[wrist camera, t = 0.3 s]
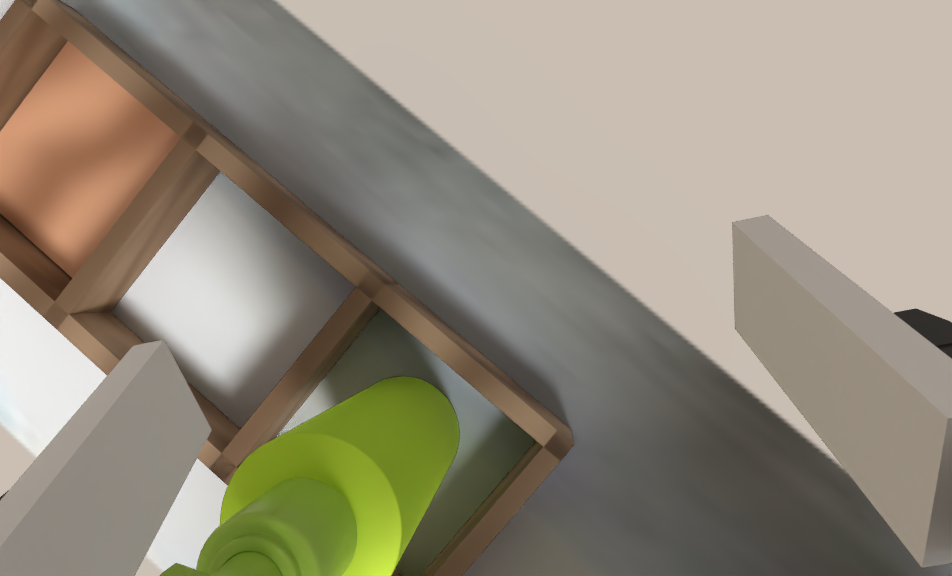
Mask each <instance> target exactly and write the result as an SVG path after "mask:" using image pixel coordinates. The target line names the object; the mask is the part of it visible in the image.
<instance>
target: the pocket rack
mask: <svg viewBox="0 0 952 576" xmlns="http://www.w3.org/2000/svg"><path fill="white" fill-rule="evenodd" d="M220 171H221V172H222V173H223V174H225V175H226V176H227V177H228V178H229V179H230V180H232V181H233V182H234V183H235V184H236V185H237V186H239V187H240V188H241V189H242V190H243V191H244V192H246V193H247V194H248V195H249V196H250V197H251V198H253V199H254V200H255V201H256V202H257V203H258V204H260V205H261V206H262V207H263V208H264V209H266V210H267V211H268V212H269V213H270V214H271V215H273V216H274V217H275V218H276V219H277V220H278V221H280V222H281V223H282V224H283V225H284V226H285V227H287V228H288V229H289V230H290V231H291V232H292V233H294V234H295V235H296V236H297V237H298V238H299V239H301V240H302V241H303V242H304V243H305V244H307V245H308V246H309V247H310V248H311V249H312V250H314V251H315V252H316V253H317V254H318V255H319V256H321V257H322V258H323V259H324V260H325V261H326V262H328V263H329V264H330V265H331V266H332V267H333V268H335V269H336V270H337V271H338V272H339V273H340V274H342V275H343V276H344V277H345V278H346V279H347V280H349V281H350V282H351V283H352V284H353V285H355V286H356V287H355V289H354V290H353V291H352V292H351V294H350V295H349V296H348V297H347V299H346V300H345V301H344V302H343V304H342V305H341V306H340V307H339V308H338V310H337V311H336V312H335V313H334V315H333V316H332V317H331V318H330V320H329V321H328V322H327V323H326V325H325V326H324V327H323V328H322V329H321V331H320V332H319V333H318V334H317V336H316V337H315V338H314V339H313V341H312V342H311V343H310V344H309V346H308V347H307V348H306V349H305V350H304V352H303V353H302V354H301V355H300V357H299V358H298V359H297V360H296V362H295V363H294V364H293V365H292V367H291V368H290V369H289V370H288V371H287V373H286V374H285V375H284V376H283V378H282V379H281V380H280V381H279V383H278V384H277V385H276V386H275V388H274V389H273V390H272V391H271V393H270V394H269V395H268V396H267V397H266V399H265V400H264V401H263V402H262V404H261V405H260V406H259V407H258V409H257V410H256V411H255V412H254V414H253V415H252V416H251V417H250V418H249V420H248V421H247V422H246V423H245V425H244V426H243V427H242V428H241V430H240V429H239V428H238V427H237V426H236V425H235V424H234V423H233V422H232V421H230V420H229V419H228V418H227V417H226V416H225V415H224V414H223V413H222V412H220V411H219V410H218V409H217V408H216V407H215V406H214V405H213V404H212V403H210V402H209V401H208V400H207V399H206V398H205V397H204V396H203V395H202V394H201V393H199V392H198V391H197V390H196V389H195V388H194V387H193V386H192V385H191V384H189V383H188V382H187V381H186V382H187V384H188V386H189V388H190V390H191V392H192V393H193V395H194V397H195V399H196V401H197V403H198V405H199V407H200V409H201V411H202V412H203V414H204V416H205V418H206V420H207V422H208V424H209V426H210V428H211V430H212V431H211V433H210V434H209V436H208V438H207V440H206V442H205V444H204V446H203V448H202V450H201V451H200V453H199V455H198V457H197V458H198V459H199V460H200V461H201V462H202V463H204V464H205V465H206V466H207V467H208V468H209V469H210V470H211V471H212V472H213V473H214V474H216V475H217V476H218V477H219V478H220V479H221V480H222V481H223V482H224V483H225V484H227V485H229V482H230V480H231V479H232V477H233V475H234V473H235V472H236V470H237V469H238V468H239V466H240V465H241V464H242V463H243V461H244V460H245V459H246V458H247V457H248V456H249V455H250V454H252V453H253V452H254V451H255V450H257V449H258V448H259V447H261V446H262V445H264V444H266V443H268V442H269V441H271V440H273V439H274V438H275V437H276V436H277V435H278V433H279V432H280V431H281V430H282V429H283V427H284V426H285V425H286V424H287V422H288V421H289V420H290V419H291V418H292V416H293V415H294V414H295V413H296V411H297V410H298V409H299V408H300V406H301V405H302V404H303V403H304V402H305V400H306V399H307V398H308V397H309V395H310V394H311V393H312V392H313V391H314V389H315V388H316V387H317V386H318V384H319V383H320V382H321V381H322V379H323V378H324V377H325V376H326V375H327V373H328V372H329V371H330V370H331V368H332V367H333V366H334V365H335V364H336V362H337V361H338V360H339V359H340V357H341V356H342V355H343V354H344V352H345V351H346V350H347V349H348V348H349V346H350V345H351V344H352V343H353V341H354V340H355V339H356V338H357V337H358V335H359V334H360V333H361V332H362V330H363V329H364V328H365V327H366V325H367V324H368V323H369V322H370V321H371V319H372V318H373V317H374V316H375V314H376V313H377V312H378V311H379V310H380V308H381V309H383V310H384V311H385V312H386V313H387V314H388V315H390V316H391V317H392V318H393V319H394V320H396V321H397V322H398V323H399V324H400V325H401V326H403V327H404V328H405V329H406V330H407V331H408V332H410V333H411V334H412V335H413V336H414V337H415V338H417V339H418V340H419V341H420V342H421V343H422V344H424V345H425V346H426V347H427V348H428V349H429V350H431V351H432V352H433V353H434V354H435V355H436V356H438V357H439V358H440V359H441V360H442V361H444V362H445V363H446V364H447V365H448V366H449V367H451V368H452V369H453V370H454V371H455V372H456V373H458V374H459V375H460V376H461V377H462V378H463V379H465V380H466V381H467V382H468V383H469V384H470V385H472V386H473V387H474V388H475V389H476V390H477V391H479V392H480V393H481V394H482V395H483V396H485V397H486V398H487V399H488V400H489V401H490V402H492V403H493V404H494V405H495V406H496V407H497V408H499V409H500V410H501V411H502V412H503V413H504V414H506V415H507V416H508V417H509V418H510V419H511V420H513V421H514V422H515V423H516V424H517V425H518V426H520V427H521V428H522V429H523V430H524V431H525V432H527V433H528V434H529V435H530V436H531V437H533V438H534V439H535V440H536V441H535V443H534V444H533V445H532V446H531V447H530V448H529V450H528V451H527V452H526V453H525V454H524V455H523V457H522V458H521V459H520V460H519V461H518V463H517V464H516V465H515V466H514V467H513V468H512V470H511V471H510V472H509V473H508V474H507V475H506V477H505V478H504V479H503V480H502V481H501V482H500V484H499V485H498V486H497V487H496V488H495V490H494V491H493V492H492V493H491V494H490V495H489V497H488V498H487V499H486V500H485V501H484V502H483V504H482V505H481V506H480V507H479V508H478V510H477V511H476V512H475V513H474V514H473V515H472V517H471V518H470V519H469V520H468V521H467V522H466V524H465V525H464V526H463V527H462V528H461V529H460V531H459V532H458V533H457V534H456V535H455V537H454V538H453V539H452V540H451V541H450V542H449V544H448V545H447V546H446V547H445V548H444V549H443V551H442V552H441V553H440V554H439V555H438V556H437V558H436V559H435V560H434V561H433V562H432V564H431V565H430V566H429V567H428V568H427V569H426V571H425V572H424V573H423V574H422V575H421V576H462V575H463V574H464V573H465V572H466V571H467V569H468V568H469V567H470V566H471V565H472V564H473V562H474V561H475V560H476V559H477V558H478V557H479V555H480V554H481V553H482V552H483V551H484V550H485V548H486V547H487V546H488V545H489V544H490V543H491V541H492V540H493V539H494V538H495V537H496V536H497V534H498V533H499V532H500V531H501V530H502V529H503V527H504V526H505V525H506V524H507V523H508V522H509V520H510V519H511V518H512V517H513V516H514V515H515V513H516V512H517V511H518V510H519V509H520V508H521V506H522V505H523V504H524V503H525V502H526V501H527V499H528V498H529V497H530V496H531V495H532V494H533V492H534V491H535V490H536V489H537V488H538V487H539V485H540V484H541V483H542V482H543V481H544V480H545V478H546V477H547V476H548V475H549V474H550V473H551V471H552V470H553V469H554V468H555V467H556V466H557V464H558V463H559V462H560V461H561V460H562V459H563V457H564V456H565V455H566V454H567V453H568V452H569V450H570V449H571V448H572V447H573V446H574V440H573V435H572V430H571V429H569V428H568V427H567V426H566V425H565V424H564V423H562V422H561V421H560V420H559V419H558V418H556V417H555V416H554V415H553V414H552V413H551V412H549V411H548V410H547V409H546V408H545V407H543V406H542V405H541V404H540V403H539V402H538V401H536V400H535V399H534V398H533V397H532V396H531V395H529V394H528V393H527V392H526V391H525V390H523V389H522V388H521V387H520V386H519V385H518V384H516V383H515V382H514V381H513V380H512V379H510V378H509V377H508V376H507V375H506V374H505V373H503V372H502V371H501V370H500V369H499V368H497V367H496V366H495V365H494V364H493V363H492V362H490V361H489V360H488V359H487V358H486V357H484V356H483V355H482V354H481V353H480V352H479V351H477V350H476V349H475V348H474V347H473V346H471V345H470V344H469V343H468V342H467V341H466V340H464V339H463V338H462V337H461V336H460V335H458V334H457V333H456V332H455V331H454V330H453V329H451V328H450V327H449V326H448V325H447V324H445V323H444V322H443V321H442V320H441V319H440V318H438V317H437V316H436V315H435V314H434V313H432V312H431V311H430V310H429V309H428V308H427V307H425V306H424V305H423V304H422V303H421V302H419V301H418V300H417V299H416V298H415V297H414V296H412V295H411V294H410V293H409V292H408V291H406V290H405V289H404V288H403V287H402V286H401V285H399V284H398V283H397V282H396V281H395V280H393V279H392V278H391V277H390V276H389V275H388V274H386V273H385V272H384V271H383V270H382V269H380V268H379V267H378V266H377V265H376V264H375V263H373V262H372V261H371V260H370V259H369V258H367V257H366V256H365V255H364V254H363V253H362V252H360V251H359V250H358V249H357V248H356V247H354V246H353V245H352V244H351V243H350V242H349V241H347V240H346V239H345V238H344V237H343V236H342V235H340V234H339V233H338V232H337V231H336V230H334V229H333V228H332V227H331V226H330V225H329V224H327V223H326V222H325V221H324V220H323V219H321V218H320V217H319V216H318V215H317V214H316V213H314V212H313V211H312V210H311V209H310V208H308V207H307V206H306V205H305V204H304V203H303V202H301V201H300V200H299V199H298V198H297V197H295V196H294V195H293V194H292V193H291V192H290V191H288V190H287V189H286V188H285V187H284V186H282V185H281V184H280V183H279V182H278V181H277V180H275V179H274V178H273V177H272V176H271V175H269V174H268V173H267V172H266V171H265V170H264V169H262V168H261V167H260V166H259V165H258V164H256V163H255V162H254V161H253V160H252V159H251V158H249V157H248V156H247V155H246V154H245V153H243V152H242V151H241V150H240V149H239V148H238V147H236V146H235V145H234V144H233V143H232V142H230V141H229V140H228V139H227V138H226V137H225V136H223V135H222V134H221V133H220V132H219V131H217V130H216V129H215V128H214V127H213V126H212V125H210V124H209V123H208V122H207V121H206V120H204V119H203V118H202V117H201V116H200V115H199V114H197V113H196V112H195V111H194V110H193V109H191V108H190V107H189V106H188V105H187V104H186V103H184V102H183V101H182V100H181V99H180V98H178V97H177V96H176V95H175V94H174V93H173V92H171V91H170V90H169V89H168V88H167V87H165V86H164V85H163V84H162V83H161V82H160V81H158V80H157V79H156V78H155V77H154V76H153V75H151V74H150V73H149V72H148V71H147V70H145V69H144V68H143V67H142V66H141V65H140V64H138V63H137V62H136V61H135V60H134V59H132V58H131V57H130V56H129V55H128V54H127V53H125V52H124V51H123V50H122V49H121V48H119V47H118V46H117V45H116V44H115V43H114V42H112V41H111V40H110V39H109V38H108V37H106V36H105V35H104V34H103V33H102V32H101V31H99V30H98V29H97V28H96V27H95V26H93V25H92V24H91V23H90V22H89V21H88V20H86V19H85V18H84V17H83V16H82V15H80V14H79V13H78V12H77V11H76V10H75V9H73V8H72V7H70V6H68V5H67V4H65V3H63V2H62V1H60V0H15V1H14V3H13V4H12V6H11V7H10V8H9V10H8V11H7V12H6V14H5V15H4V16H3V18H2V19H1V21H0V278H1V279H2V280H3V281H4V282H5V283H7V284H8V285H9V286H10V287H11V288H12V289H13V290H14V291H15V292H16V293H17V294H19V295H20V296H21V297H22V298H23V299H24V300H25V301H26V302H27V303H28V304H30V305H31V306H32V307H33V308H34V309H35V310H36V311H37V312H38V313H39V314H40V315H42V316H43V317H44V318H45V319H46V320H47V321H48V322H49V323H50V324H51V325H52V326H54V327H55V328H56V329H57V330H58V331H59V332H60V333H61V334H62V335H63V336H65V337H66V338H67V339H68V340H69V341H70V342H71V343H72V344H73V345H74V346H75V347H77V348H78V349H79V350H80V351H81V352H82V353H83V354H84V355H85V356H86V357H88V358H89V359H90V360H91V361H92V362H93V363H94V364H95V365H96V366H97V367H98V368H100V369H101V370H102V371H103V372H104V373H105V374H106V375H107V376H108V375H109V373H110V372H111V371H112V370H113V369H114V368H115V366H116V365H117V364H118V363H119V362H120V361H121V359H122V358H123V357H124V356H125V355H126V354H127V352H128V351H129V350H130V349H131V348H132V347H133V346H135V345H140V344H144V342H143V341H142V340H141V339H139V338H138V337H137V336H136V335H135V334H134V333H133V332H132V331H131V330H129V329H128V328H127V327H126V326H125V325H124V324H123V323H122V322H121V321H119V320H118V319H117V318H116V317H115V316H114V315H113V314H112V313H111V311H112V310H113V308H114V307H115V306H116V305H117V303H118V302H119V301H120V299H121V298H122V297H123V296H124V294H125V293H126V292H127V290H128V289H129V288H130V287H131V285H132V284H133V283H134V281H135V280H136V279H137V278H138V276H139V275H140V274H141V272H142V271H143V270H144V269H145V267H146V266H147V265H148V263H149V262H150V261H151V260H152V258H153V257H154V256H155V254H156V253H157V252H158V251H159V249H160V248H161V247H162V245H163V244H164V243H165V242H166V240H167V239H168V238H169V236H170V235H171V234H172V233H173V231H174V230H175V229H176V227H177V226H178V225H179V224H180V222H181V221H182V220H183V218H184V217H185V216H186V215H187V213H188V212H189V211H190V210H191V208H192V207H193V206H194V204H195V203H196V202H197V201H198V199H199V198H200V197H201V195H202V194H203V193H204V192H205V190H206V189H207V188H208V186H209V185H210V184H211V183H212V181H213V180H214V179H215V177H216V176H217V175H218V174H219V172H220ZM391 576H403V575H401V574H400V573H399V572H398V571H397V570H396V569H395V570H394V572H393V574H392V575H391Z"/></svg>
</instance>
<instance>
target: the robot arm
mask: <svg viewBox="0 0 952 576" xmlns="http://www.w3.org/2000/svg"><path fill="white" fill-rule="evenodd" d="M732 230H733V269H734V306H735V307H734V308H735V309H734V310H735V329H736V330H737V332H738V333H739V334H740V336H741V337H742V338H743V339H744V341H745V342H746V343H747V344H748V346H749V347H750V348H751V350H752V351H753V352H754V354H755V355H756V356H757V357H758V359H759V360H760V361H761V362H762V364H763V365H764V366H765V368H766V369H767V370H768V371H769V373H770V374H771V375H772V376H773V378H774V379H775V380H776V382H777V383H778V384H779V386H780V387H781V388H782V389H783V391H784V392H785V393H786V394H787V396H788V397H789V398H790V400H791V401H792V402H793V403H794V405H795V406H796V407H797V409H798V410H799V411H800V412H801V414H802V415H803V416H804V418H805V419H806V420H807V421H808V423H809V424H810V425H811V426H812V428H813V429H814V430H815V432H816V433H817V434H818V435H819V437H820V438H821V439H822V441H823V442H824V443H825V444H826V446H827V447H828V448H829V449H830V451H831V452H832V453H833V455H834V456H835V457H836V458H837V460H838V461H839V462H840V464H841V465H842V466H843V467H844V469H845V470H846V471H847V473H848V474H849V475H850V476H851V478H852V479H853V480H854V481H855V483H856V484H857V485H858V487H859V488H860V489H861V490H862V492H863V493H864V494H865V496H866V497H867V498H868V499H869V501H870V502H871V503H872V505H873V506H874V507H875V508H876V510H877V511H878V512H879V513H880V515H881V516H882V517H883V519H884V520H885V521H886V522H887V524H888V525H889V526H890V528H891V529H892V530H893V531H894V533H895V534H896V535H897V537H898V538H899V539H900V540H901V542H902V543H903V544H904V545H905V547H906V548H907V549H908V551H909V552H910V553H911V554H912V556H913V557H914V558H915V560H916V561H917V562H918V563H919V565H920V566H921V567H922V568H925V567H931V566H937V565H943V564H949V563H952V323H951V322H950V321H948V320H945V319H942V318H940V317H937V316H934V315H932V314H929V313H926V312H924V311H921V310H919V309H911V310H906V311H901V312H895V313H892V312H891V311H890V310H889V309H887V308H886V307H885V306H883V305H882V304H881V303H880V302H878V301H877V300H876V299H875V298H873V297H872V296H871V295H869V294H868V293H867V292H866V291H864V290H863V289H861V288H860V287H859V286H858V285H857V284H855V283H854V282H853V281H851V280H850V279H849V278H848V277H846V276H845V275H844V274H842V273H841V272H840V271H839V270H837V269H836V268H835V267H834V266H832V265H831V264H830V263H829V262H827V261H826V260H825V259H823V258H822V257H821V256H820V255H818V254H817V253H816V252H814V251H813V250H812V249H811V248H809V247H808V246H807V245H805V244H804V243H803V242H802V241H800V240H799V239H798V238H797V237H795V236H794V235H793V234H791V233H790V232H789V231H788V230H786V229H785V228H784V227H782V226H781V225H780V224H779V223H777V222H776V221H775V220H774V219H772V218H771V217H770V216H768V215H766V216H761V217H756V218H751V219H746V220H741V221H736V222H733V223H732ZM211 431H212V430H211V428H210V426H209V424H208V422H207V420H206V418H205V416H204V414H203V412H202V411H201V409H200V407H199V405H198V403H197V401H196V399H195V397H194V395H193V393H192V392H191V390H190V388H189V386H188V384H187V382H186V380H185V378H184V376H183V374H182V373H181V371H180V369H179V367H178V365H177V363H176V361H175V359H174V357H173V355H172V354H171V352H170V350H169V348H168V346H167V344H166V342H165V340H159V341H154V342H149V343H144V344H140V345H135V346H133V347H132V348H131V349H130V350H129V351H128V352H127V354H126V355H125V356H124V357H123V358H122V359H121V361H120V362H119V363H118V364H117V365H116V366H115V368H114V369H113V370H112V371H111V372H110V373H109V375H108V376H107V377H106V378H105V379H104V380H103V382H102V383H101V384H100V385H99V386H98V387H97V389H96V390H95V391H94V392H93V393H92V394H91V396H90V397H89V398H88V399H87V400H86V401H85V402H84V404H83V405H82V406H81V407H80V408H79V409H78V411H77V412H76V413H75V414H74V415H73V416H72V418H71V419H70V420H69V421H68V422H67V423H66V425H65V426H64V427H63V428H62V429H61V430H60V432H59V433H58V434H57V435H56V436H55V437H54V439H53V440H52V441H51V442H50V443H49V444H48V446H47V447H46V448H45V449H44V450H43V451H42V453H41V454H40V455H39V456H38V457H37V458H36V460H35V461H34V462H33V463H32V464H31V466H30V467H29V468H28V469H27V470H26V471H25V472H24V474H23V475H22V476H21V477H20V478H19V479H18V481H17V482H16V483H15V484H14V485H13V486H12V488H11V489H10V490H8V491H7V492H6V493H5V494H4V495H2V496H1V497H0V576H135V574H136V572H137V570H138V568H139V566H140V564H141V563H142V561H143V559H144V557H145V555H146V553H147V551H148V549H149V548H150V546H151V544H152V542H153V540H154V538H155V536H156V534H157V533H158V531H159V529H160V527H161V525H162V523H163V521H164V519H165V517H166V516H167V514H168V512H169V510H170V508H171V506H172V504H173V502H174V500H175V499H176V497H177V495H178V493H179V491H180V489H181V487H182V485H183V483H184V482H185V480H186V478H187V476H188V474H189V472H190V470H191V468H192V466H193V465H194V463H195V461H196V459H197V457H198V455H199V453H200V451H201V450H202V448H203V446H204V444H205V442H206V440H207V438H208V436H209V434H210V433H211Z"/></svg>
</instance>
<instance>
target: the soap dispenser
mask: <svg viewBox="0 0 952 576" xmlns="http://www.w3.org/2000/svg"><path fill="white" fill-rule="evenodd" d="M458 445H459V424H458V420H457V416H456V413H455V411H454V409H453V407H452V405H451V403H450V402H449V400H448V399H447V398H446V397H445V395H444V394H443V393H442V392H441V391H440V390H438V389H437V388H436V387H434V386H433V385H431V384H430V383H428V382H426V381H423V380H421V379H417V378H413V377H405V376H400V377H392V378H388V379H385V380H382V381H380V382H378V383H376V384H374V385H372V386H370V387H368V388H367V389H365V390H363V391H361V392H359V393H357V394H356V395H354V396H352V397H350V398H348V399H346V400H345V401H343V402H341V403H339V404H337V405H335V406H334V407H332V408H330V409H328V410H326V411H324V412H323V413H321V414H319V415H317V416H315V417H313V418H312V419H310V420H308V421H306V422H304V423H302V424H301V425H299V426H297V427H295V428H293V429H291V430H290V431H288V432H286V433H284V434H282V435H280V436H279V437H277V438H275V439H273V440H271V441H269V442H268V443H266V444H264V445H262V446H261V447H259V448H258V449H257V450H255V451H254V452H253V453H252V454H250V455H249V456H248V457H247V458H246V459H245V460H244V461H243V463H242V464H241V465H240V466H239V468H238V469H237V470H236V472H235V473H234V475H233V477H232V479H231V480H230V482H229V485H228V487H227V489H226V492H225V495H224V498H223V502H222V507H221V515H220V526H219V527H218V528H216V529H215V531H214V532H213V533H212V534H211V535H210V537H209V538H208V539H207V541H206V542H205V544H204V546H203V548H202V550H201V553H200V555H199V559H198V563H197V570H195V569H192V568H190V567H187V566H184V565H181V564H178V563H175V564H174V565H172V566H171V567H170V568H168V569H167V570H166V571H164V572H163V573H162V574H161V575H160V576H391V575H392V574H393V572H394V570H395V568H396V566H397V564H398V562H399V560H400V559H401V557H402V555H403V553H404V551H405V549H406V547H407V546H408V544H409V542H410V540H411V538H412V536H413V534H414V533H415V531H416V529H417V527H418V525H419V523H420V521H421V520H422V518H423V516H424V514H425V512H426V510H427V508H428V506H429V505H430V503H431V501H432V499H433V497H434V495H435V493H436V492H437V490H438V488H439V486H440V484H441V482H442V480H443V479H444V477H445V475H446V473H447V471H448V469H449V467H450V465H451V464H452V462H453V460H454V458H455V455H456V453H457V449H458Z"/></svg>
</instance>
